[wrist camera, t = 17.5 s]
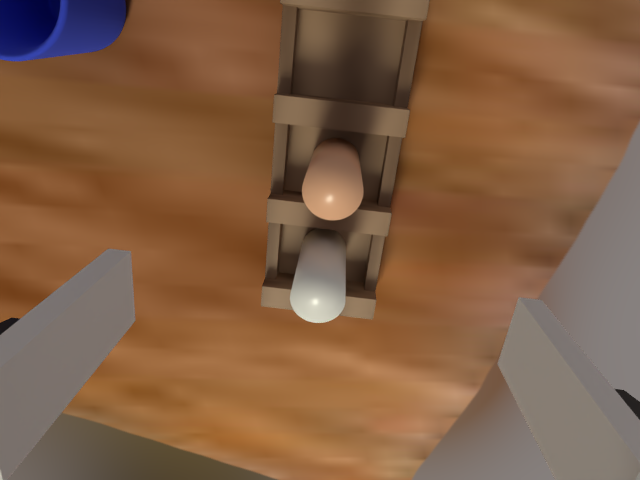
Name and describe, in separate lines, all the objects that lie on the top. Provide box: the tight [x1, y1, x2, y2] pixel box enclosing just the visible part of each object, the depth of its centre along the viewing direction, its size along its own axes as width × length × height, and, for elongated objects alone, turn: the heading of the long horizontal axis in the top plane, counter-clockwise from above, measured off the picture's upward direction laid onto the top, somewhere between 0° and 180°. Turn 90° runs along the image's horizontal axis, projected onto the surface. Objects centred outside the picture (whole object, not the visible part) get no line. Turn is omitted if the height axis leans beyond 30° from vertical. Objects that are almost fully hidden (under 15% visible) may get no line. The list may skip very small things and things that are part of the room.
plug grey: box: [290, 228, 346, 323], centre depth 36 cm, size 4×4×9 cm
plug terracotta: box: [302, 138, 364, 220], centre depth 33 cm, size 4×4×9 cm
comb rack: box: [261, 0, 429, 319], centre depth 36 cm, size 10×26×4 cm, turn 174°
